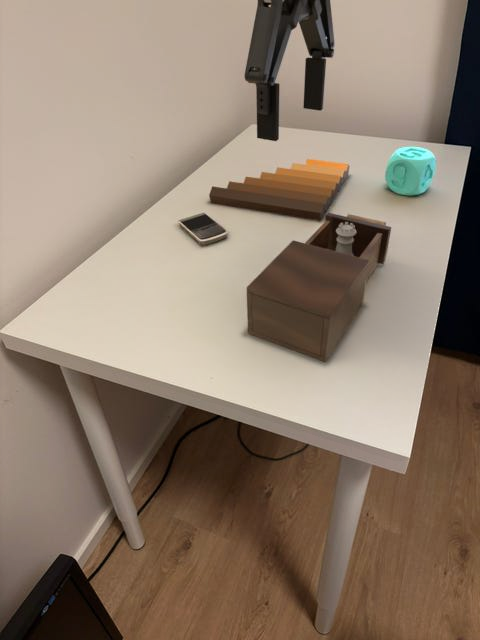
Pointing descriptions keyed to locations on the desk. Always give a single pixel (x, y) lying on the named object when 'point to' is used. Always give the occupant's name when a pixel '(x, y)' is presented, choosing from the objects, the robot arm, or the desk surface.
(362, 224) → the drawer
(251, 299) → the cabinet
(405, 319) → the desk surface
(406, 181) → the decorative dice
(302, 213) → the pan flute
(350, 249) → the rook chess piece
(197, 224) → the cell phone
